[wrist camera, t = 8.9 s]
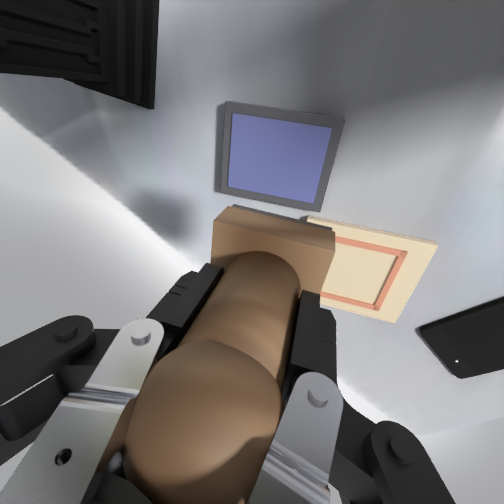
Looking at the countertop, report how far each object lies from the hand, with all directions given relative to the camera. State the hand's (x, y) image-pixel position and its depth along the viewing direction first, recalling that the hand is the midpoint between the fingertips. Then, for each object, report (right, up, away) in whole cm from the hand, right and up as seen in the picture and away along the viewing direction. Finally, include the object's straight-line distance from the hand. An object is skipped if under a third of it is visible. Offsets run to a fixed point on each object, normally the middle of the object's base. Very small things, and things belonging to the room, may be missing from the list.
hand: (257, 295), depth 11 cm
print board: (+11, 0, +17) cm, 20 cm away
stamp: (+1, +2, +3) cm, 3 cm away
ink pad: (+2, +11, +13) cm, 17 cm away
